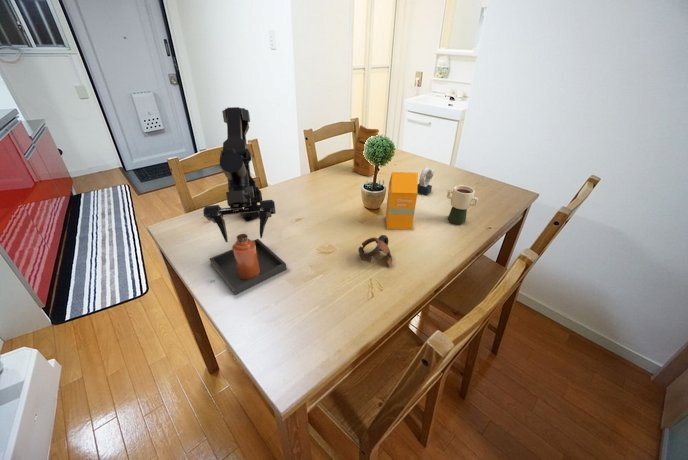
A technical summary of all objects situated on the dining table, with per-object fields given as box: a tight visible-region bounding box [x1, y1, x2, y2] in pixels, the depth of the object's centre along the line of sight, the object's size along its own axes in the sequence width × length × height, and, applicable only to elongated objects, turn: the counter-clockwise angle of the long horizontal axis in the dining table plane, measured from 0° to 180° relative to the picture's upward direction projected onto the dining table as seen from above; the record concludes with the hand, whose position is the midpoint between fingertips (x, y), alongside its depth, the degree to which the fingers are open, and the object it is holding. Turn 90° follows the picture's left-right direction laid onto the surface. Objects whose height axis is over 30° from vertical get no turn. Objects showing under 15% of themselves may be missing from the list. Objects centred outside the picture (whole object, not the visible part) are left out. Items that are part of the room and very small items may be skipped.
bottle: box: [231, 233, 260, 280], centre depth 83 cm, size 6×6×12 cm
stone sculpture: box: [417, 167, 435, 196], centre depth 130 cm, size 6×8×11 cm
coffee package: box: [352, 124, 380, 177], centre depth 146 cm, size 10×12×22 cm
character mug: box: [446, 184, 479, 225], centre depth 109 cm, size 11×7×13 cm, turn 52°
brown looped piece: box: [357, 234, 393, 268], centre depth 92 cm, size 12×10×8 cm
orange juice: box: [385, 171, 419, 230], centre depth 105 cm, size 8×9×20 cm
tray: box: [209, 238, 288, 296], centre depth 88 cm, size 17×16×3 cm
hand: (244, 239), depth 83 cm, fingers open, 9 cm apart
